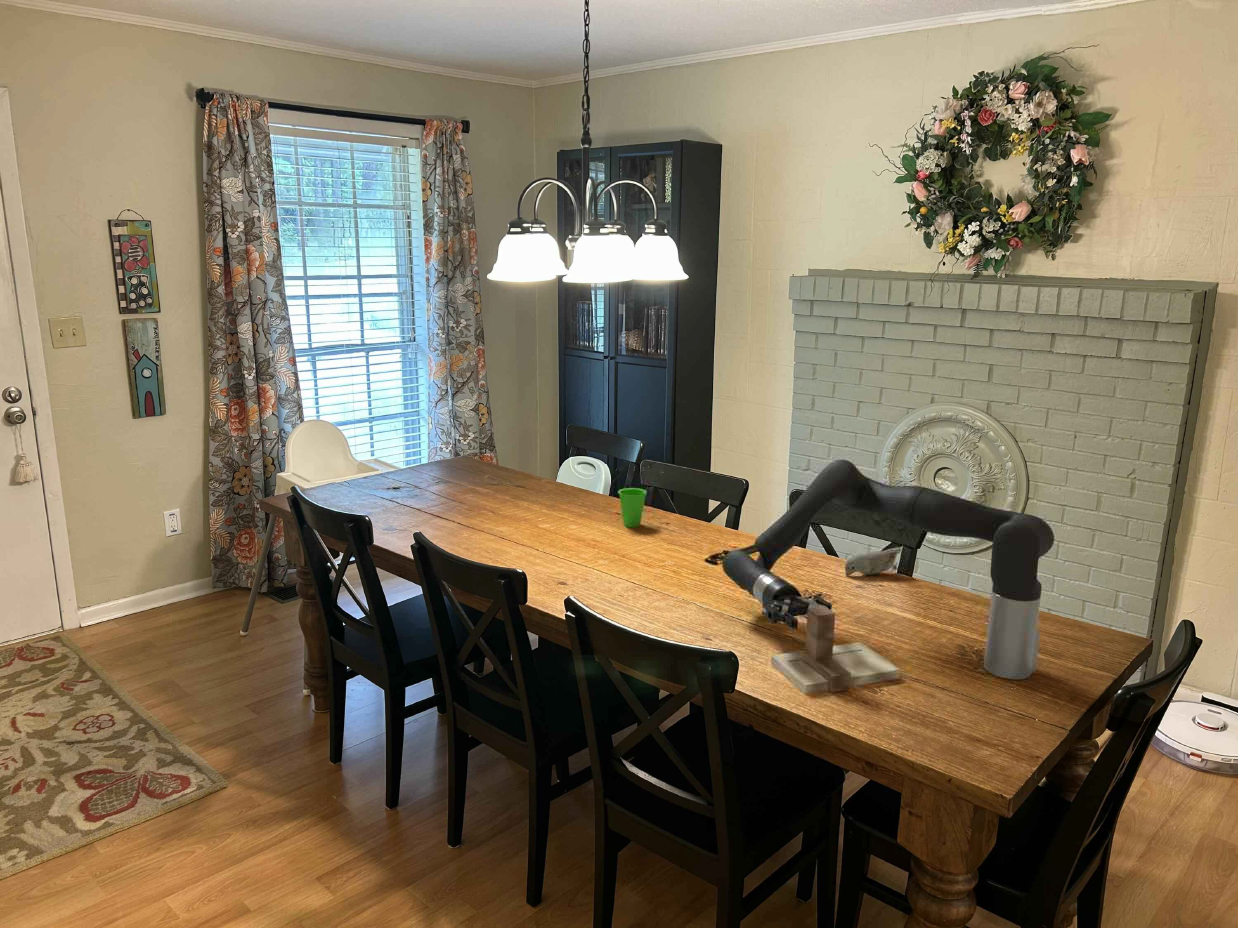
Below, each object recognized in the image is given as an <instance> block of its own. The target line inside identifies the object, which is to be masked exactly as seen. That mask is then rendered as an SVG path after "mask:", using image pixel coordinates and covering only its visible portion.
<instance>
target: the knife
mask: <svg viewBox="0 0 1238 928" xmlns="http://www.w3.org/2000/svg"><path fill="white" fill-rule="evenodd" d="M738 550H742V551H744V552H746V553H747V554H750V553H753V552H756V551H758V550H757V549H756V547H755V543H754V544H753V545H749V546H746V547H742V548H739V549H738ZM729 552H731V551H730V550H727V549H723V550H722V552H719V553H718V552H717V553H714V554H710V555H709V556H707V557H705V558H704V562H705V563H708V564H710V565H714V566H716V565H718V562H720V561H721V563H722V562H723V559H724V557H725V556H726V555H727V554H728V553H729ZM723 555H724V556H723ZM715 558H716V559H715Z"/></svg>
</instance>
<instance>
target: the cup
mask: <svg viewBox="0 0 1238 928" xmlns="http://www.w3.org/2000/svg"><path fill="white" fill-rule="evenodd" d="M617 493H618V494H619V501H620V509H621V516H622V521H623V523H622V524H623V525H624V527H626V528H638V527H640V525H641V523H642V522H641V521H642V517H643V510H644V505H645V499H646V495H647V493H648V492H647V490H646V489H643V488H637V487H629V488H622V489H619V490H618V491H617Z"/></svg>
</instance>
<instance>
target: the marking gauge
mask: <svg viewBox="0 0 1238 928" xmlns="http://www.w3.org/2000/svg"><path fill="white" fill-rule="evenodd" d="M835 620H836V612H834V611H833V610H830V609H828V608H827V607H825V606H822V607H814V608H811V607H809V608H808V612H807V617H806V631H805V643H804V645H805V646H804V648H805V649H804V650H801V651H802V659H803V660H804V661H806V662H807V663H808V664H809V665H811V666H812V667H813V668H814V669H815V670H817V671H818V672H819V673H820V674H822V675H823V676H824V677H825V678H827V679H828V680H829V683H828V689H829V690H828V691H831V692H832V693H833V692H840V691H846V690H850V689H851V687H850V678H851V673H850V672H849V671H847V670H846V669H845V668H843V667H842V666H841V665H839V664H838V663H837V662H836V661H834V660H833V659H832V653H833V646H834V640H835V639H834V637H835V636H834V635H835V622H836V621H835Z"/></svg>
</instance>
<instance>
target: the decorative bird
mask: <svg viewBox="0 0 1238 928" xmlns="http://www.w3.org/2000/svg"><path fill="white" fill-rule="evenodd" d="M902 551H903V549H902V547H901V546H900V547H893V548H889V549H885V550H877V551H870V552H867V553H863V554H856V555H854V554H853V555H852V556H851V557H849V558H848V559H847V560H846V562H845V566H844V570H845V573H844V574H845V576H846V577H849V576H850V575H853V574H854V573H860V574H862V575H865V576H868V575H875V574H881V573H883V571H884V572H886V571H888V570H890V569H892V572H894V571H895V572H896V573H897V575H900V576H901V575H902V574H901V573H902V568H903V565H902V566H900V568H897V567H898V566H897V564H898V561H897V562H896V559H897V554H900V553H902ZM895 562H896V563H895Z"/></svg>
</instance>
